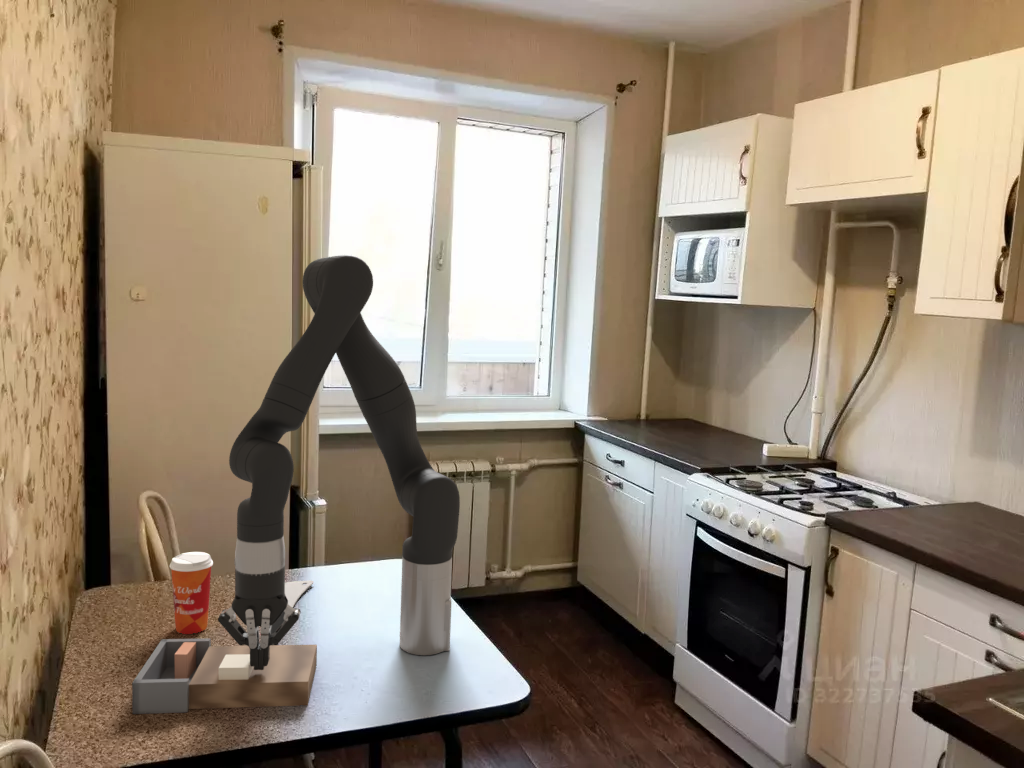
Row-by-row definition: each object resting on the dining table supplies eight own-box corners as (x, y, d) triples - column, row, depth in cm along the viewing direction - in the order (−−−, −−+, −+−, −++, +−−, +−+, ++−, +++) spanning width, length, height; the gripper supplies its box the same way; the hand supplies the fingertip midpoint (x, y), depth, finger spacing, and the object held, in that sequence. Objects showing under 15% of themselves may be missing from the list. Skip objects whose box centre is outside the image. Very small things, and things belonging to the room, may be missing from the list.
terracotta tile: (196, 642, 133) (184, 642, 133) (186, 654, 129) (174, 654, 129) (196, 667, 134) (184, 667, 134) (187, 680, 129) (174, 680, 129)
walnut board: (316, 666, 137) (316, 644, 137) (307, 705, 124) (308, 681, 124) (209, 668, 134) (209, 646, 134) (189, 708, 122) (189, 684, 121)
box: (210, 665, 135) (210, 638, 135) (187, 712, 121) (187, 681, 120) (162, 667, 134) (161, 639, 134) (132, 713, 120) (132, 683, 119)
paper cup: (160, 633, 147) (160, 561, 145) (186, 617, 154) (186, 548, 153) (197, 639, 145) (197, 566, 143) (222, 623, 152) (222, 553, 151)
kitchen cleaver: (268, 580, 174) (314, 576, 174) (269, 587, 174) (315, 583, 174) (227, 644, 143) (283, 638, 143) (229, 653, 143) (284, 647, 144)
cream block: (254, 665, 128) (254, 654, 128) (248, 679, 124) (248, 667, 123) (225, 666, 127) (225, 654, 127) (218, 679, 123) (218, 667, 123)
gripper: (306, 555, 128) (304, 655, 130) (221, 555, 126) (221, 657, 128) (300, 571, 121) (299, 678, 123) (211, 572, 119) (211, 680, 121)
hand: (259, 667), depth 126 cm, fingers closed
